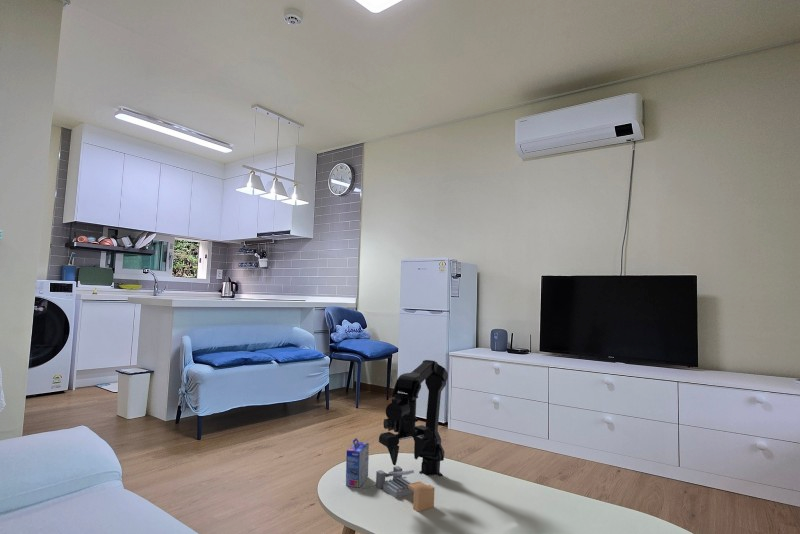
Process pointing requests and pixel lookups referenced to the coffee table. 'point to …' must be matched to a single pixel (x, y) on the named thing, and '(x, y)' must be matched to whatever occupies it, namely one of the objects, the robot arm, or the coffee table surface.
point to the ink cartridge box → (357, 464)
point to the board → (392, 484)
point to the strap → (398, 473)
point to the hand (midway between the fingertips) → (405, 462)
